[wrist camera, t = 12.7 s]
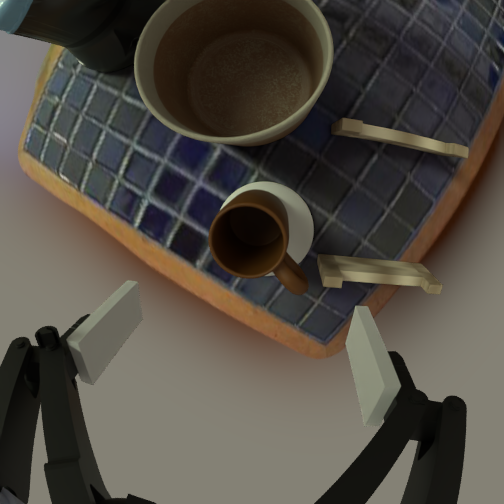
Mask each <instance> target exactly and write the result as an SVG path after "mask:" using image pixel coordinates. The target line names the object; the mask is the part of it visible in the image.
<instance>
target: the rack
mask: <svg viewBox="0 0 504 504" xmlns="http://www.w3.org/2000/svg"><path fill="white" fill-rule="evenodd" d="M331 134H334V135H342V136H348V137H355V138H361V139H367V140H372V141H378V142H383V143H388V144H393V145H398V146H403V147H407V148H412V149H416V150H420V151H424V152H428V153H432V154H436V155H441V156H452V157H461V158H468V147H465V146H462V145H459V144H455V143H444V142H440V141H437V140H433V139H430V138H426V137H422V136H418V135H414V134H410V133H406V132H401V131H397V130H392V129H388V128H383V127H378V126H373V125H367V124H363V121H360V120H354V119H348V118H342V119H340V120H338V121H336V122H335V123H333V124H332V125H331ZM317 264H318V268H319V272H320V276H321V280H322V284H323V287H335V288H341V286H342V281H355V282H367V283H381V284H394V285H409V286H421V287H422V288H423V289H424V290H425V292H426V293H427V294H440V293H441V290H442V286H443V285H442V284H441V283H440V282H439V281H438V280H437V279H436V278H435V277H434V276H433V275H432V274H431V273H430V272H429V271H428V270H427V269H426V268H425V267H424V266H423V265H422V264H420V263H410V262H399V261H389V260H379V259H368V258H358V257H348V256H337V255H326V254H318V259H317Z"/></svg>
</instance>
